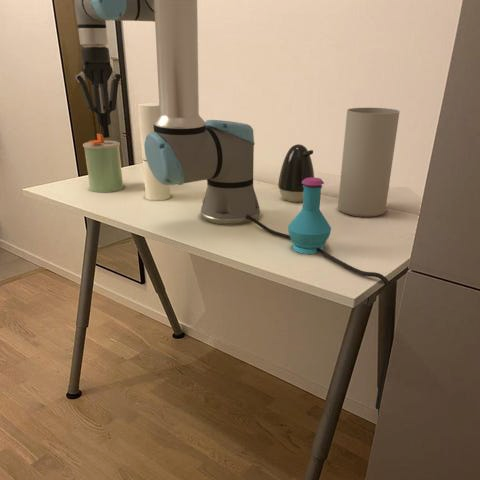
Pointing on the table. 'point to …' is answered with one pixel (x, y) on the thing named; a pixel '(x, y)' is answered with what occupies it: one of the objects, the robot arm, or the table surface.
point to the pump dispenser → (295, 173)
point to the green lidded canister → (104, 166)
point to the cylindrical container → (152, 185)
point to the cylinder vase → (367, 160)
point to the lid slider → (100, 139)
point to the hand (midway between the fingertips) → (105, 136)
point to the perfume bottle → (310, 220)
